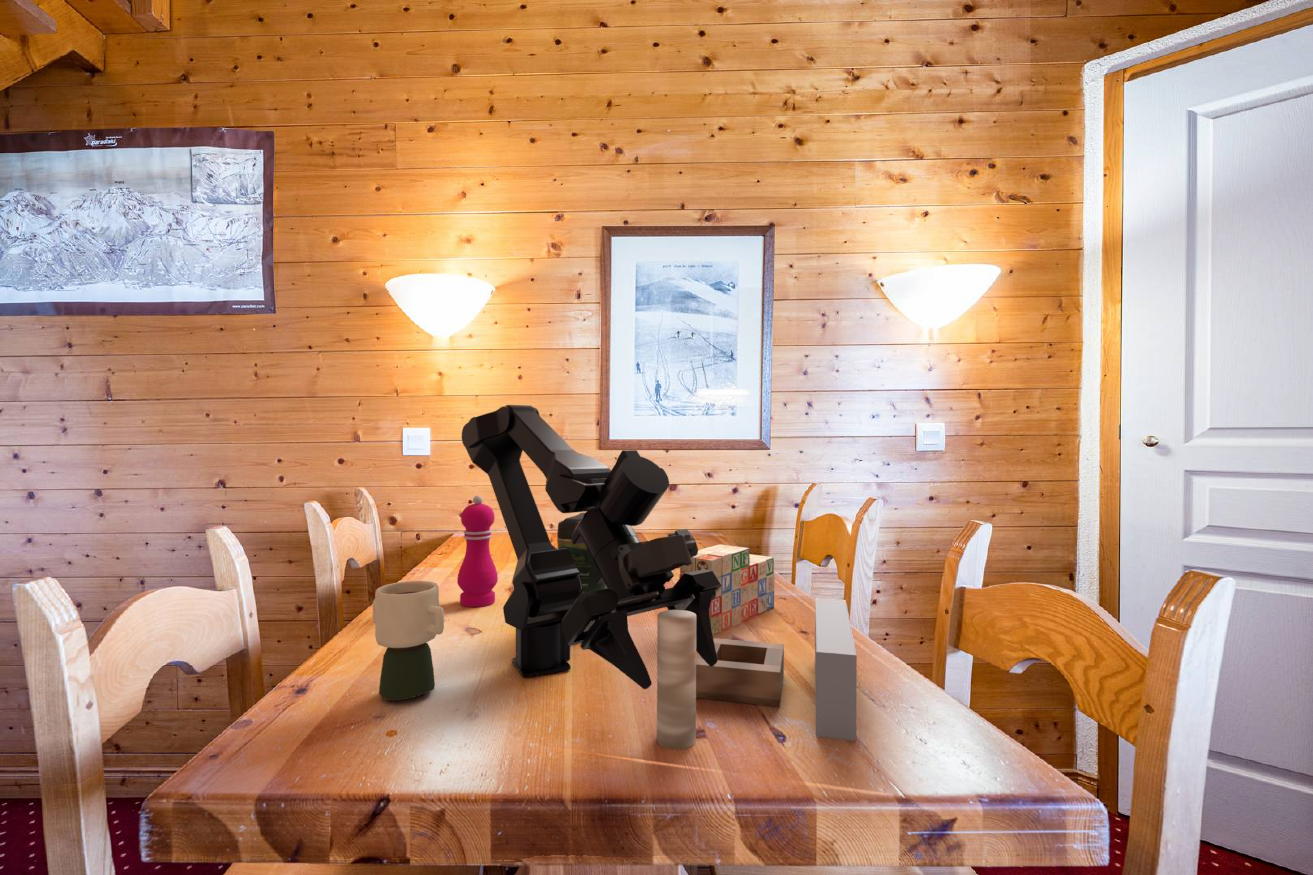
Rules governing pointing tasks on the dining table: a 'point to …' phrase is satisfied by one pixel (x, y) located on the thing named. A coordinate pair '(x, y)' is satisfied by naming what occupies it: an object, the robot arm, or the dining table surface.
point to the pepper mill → (477, 556)
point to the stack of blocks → (736, 583)
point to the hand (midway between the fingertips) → (683, 675)
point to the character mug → (407, 636)
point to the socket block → (742, 673)
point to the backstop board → (834, 671)
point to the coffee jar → (579, 554)
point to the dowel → (676, 679)
